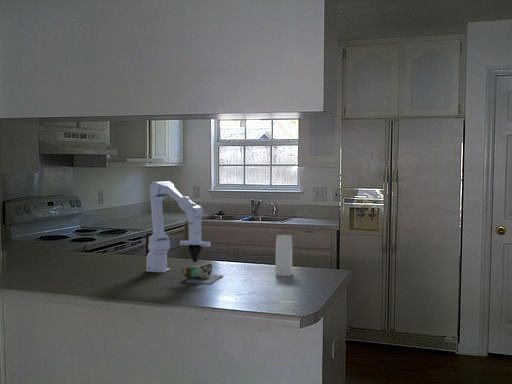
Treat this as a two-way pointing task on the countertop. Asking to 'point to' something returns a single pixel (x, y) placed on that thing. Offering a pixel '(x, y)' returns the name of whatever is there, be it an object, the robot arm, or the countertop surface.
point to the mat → (208, 280)
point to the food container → (198, 271)
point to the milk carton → (283, 255)
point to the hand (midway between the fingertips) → (195, 261)
